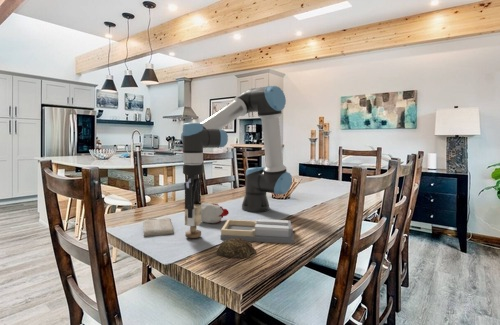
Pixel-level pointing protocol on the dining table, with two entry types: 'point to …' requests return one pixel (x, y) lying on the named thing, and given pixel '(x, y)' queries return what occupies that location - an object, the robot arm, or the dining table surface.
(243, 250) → the bread roll
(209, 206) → the white and red figurine
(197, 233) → the maple peg
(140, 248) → the dining table surface
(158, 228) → the washcloth
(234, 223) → the keyhole board
